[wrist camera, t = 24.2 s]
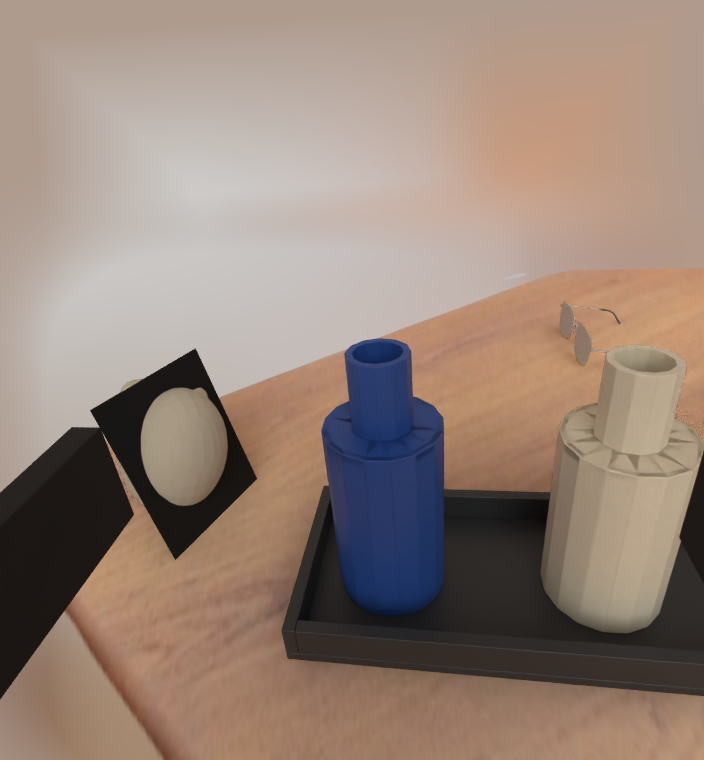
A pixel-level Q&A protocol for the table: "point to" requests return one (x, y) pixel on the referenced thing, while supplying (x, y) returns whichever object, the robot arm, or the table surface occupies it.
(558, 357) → the table surface
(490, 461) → the table surface
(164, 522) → the decorative object
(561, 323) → the eyeglasses
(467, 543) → the tray
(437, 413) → the blue bottle
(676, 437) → the cream bottle mid
